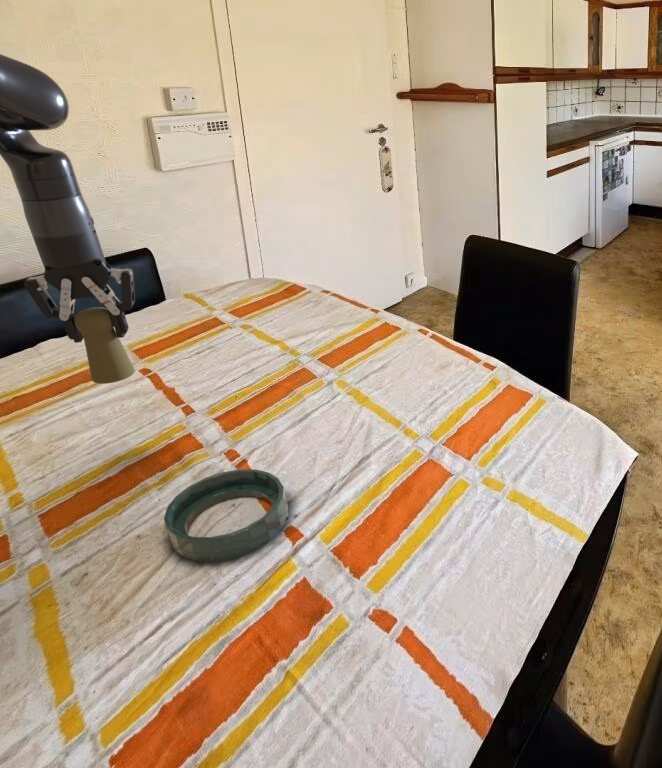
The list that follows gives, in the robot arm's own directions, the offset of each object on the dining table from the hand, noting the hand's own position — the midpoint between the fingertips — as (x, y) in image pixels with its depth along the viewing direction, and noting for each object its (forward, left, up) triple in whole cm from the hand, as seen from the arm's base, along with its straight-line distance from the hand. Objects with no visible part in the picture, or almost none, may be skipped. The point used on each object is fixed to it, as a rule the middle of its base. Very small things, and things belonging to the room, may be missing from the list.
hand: (101, 337), depth 96 cm
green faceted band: (+17, -26, -21) cm, 37 cm away
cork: (0, 0, -7) cm, 7 cm away
